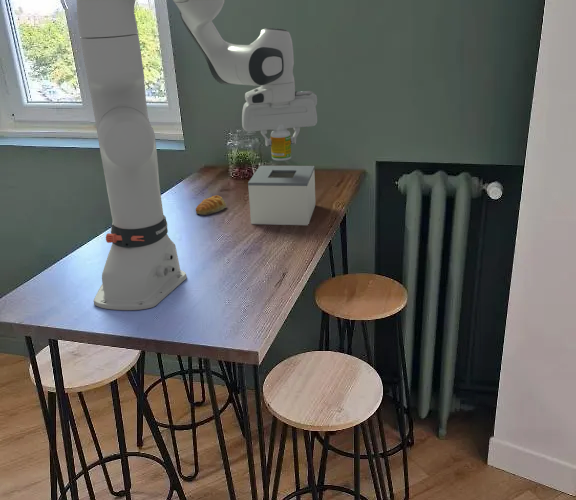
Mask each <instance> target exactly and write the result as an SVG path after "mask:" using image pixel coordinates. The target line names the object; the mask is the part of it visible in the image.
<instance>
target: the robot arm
mask: <svg viewBox="0 0 576 500" xmlns="http://www.w3.org/2000/svg"><path fill="white" fill-rule="evenodd" d="M172 1H173V3H174V4H175V6H177V8H178V10H179V16H180V19H181V21H182V23H183V25H184V27H185V28H186V29H185V30H187V31H188V34H189V35H190V37H191V39H193V41H194V42H195V45H196V46H197V48H198V49H199V50H200V52H201V53H202V55H203V57H204V58H205V60H206V63H207V66H208V69H209V71H210V73H211V75H212V77H213V79H215V81H216V82H218V83H219V84H222V85H226V86H227V85H241V86H242V85H243V86H254V87H256V86H257V87H256V88H253V89H251V90H249V91H246V92H245V93H244V99H245V101H246V102H244V103H243V107H242V111H241V112H242V113H241V125H242V126H241V127H242V129H243V130H244V131H245V132H247V133H248V132H257V131H258V132H260V134H261V135H262V137H263V138H264V140H265V147H271V146H272V144H271V142H272V141H271V137H269V138H268V137H267V136H266V135H267V134H268V131H273V130H274V129H277V128H278V127H279V125H283V126H284V128H287V129H292V128H293V131H294V133H292V136H291V135H290V137H291V145H296V144H297V138H298V136H299V134H300V131H301V128H304V127H306V128H307V127H314V126H316V125H317V123H318V113H317V108H316V107H317V105H318V96H317V94H316V93H315V92H313V91H312V90H306V91H302V90H301V91H296V86H295V85H296V83H295V82H296V80H295V76H294V72H293V71H294V70H293V69H294V66H295V65H294V64H295V59H294V45H293V40H292V36H291V34H290V32H289V31H288V30H286V29H283V28H276V27H275V28H274V27H267V28H266V27H265V28H262V29H261V30H260V33H259V36H258V37H257V38H256V39H255V40H254V41H253V42H251V43H250V44H235V43H231V42H229V41H226V40H224V39H223V38H222V36H221V34H220V32H219V31H218V29H217V27H216V25H215V24H214V22H213V20H214V19H215V18H216V17H217V16H218V15H219V14H220V12H221V11H222V9H223V6H224V5H225V0H172ZM135 5H136V0H76V13H77V15H76V17H77V26H78V33H79V38H80V45H81V51H82V55H83V62H84V67H85V72H86V78H87V82H88V83H87V84H88V88H89V89H88V90H89V95H90V99H91V104H92V109H93V115H94V120H95V126H96V127H95V128H96V134H97V140H98V146H99V151H100V157H101V162H102V168H103V174H104V180H105V184H106V191H107V195H108V196H107V198H108V203H109V208H110V214H111V219H112V222H111V228H110V233H107V234H106V235H105V242H106V243H108V244H110V243H111V247H110V250H109V252H108V255H107V258H106V260H105V264H104V267H103V269H102V272H101V273H102V274H101V282H102V284H101V285H100V287H99V289H98V291H97V293H96V295H95V296H94V298H93V305H94V306H97V307H98V308H102V309H106V310H107V309H108V310H115V311H138V310H145V309H151V308H154V307H155V306H157V305H158V304H159V303H161V301H162V300H164V299H165V298H166V297H168V295H169V294H171V293H172V292H173V291H174V290H175V289H176V288H177V287H178V286H180V285H181V284H182V283H183V282H184V281H185V280H186V279H187V278H188V276H187V275H188V274H187V273H186V272H185V271H184V270H182V269H181V265H180V262H179V256H178V252H177V248H176V244H175V243H174V241H172V240H171V238H170V237H169V235H168V233H169V230H168V221H167V217H166V216H165V215H164V210H163V201H162V195H161V187H160V177H159V173H160V172H159V163H158V162H159V160H158V151H157V150H158V149H157V141H156V133H155V131H154V129H153V127H152V125H151V123H150V119H149V115H148V105H147V97H146V85H145V73H144V65H143V60H142V59H143V58H142V52H141V51H142V50H141V44H140V43H141V42H140V38H139V31H138V24H137V19H136V14H135Z"/></svg>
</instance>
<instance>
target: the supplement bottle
mask: <svg viewBox="0 0 576 500" xmlns="http://www.w3.org/2000/svg"><path fill="white" fill-rule="evenodd" d="M270 138H271V141H272V142H271V144H272V146H270V149H271V150H270V151H271V152H270V153H271V159H272V160H273V161H277V162H279V161H282V162H283V161H289V160H290V159H292V144H291V131H289V130H288V128H284V126H283V125H279V127H278V128H277V129H273V130H271V132H270Z"/></svg>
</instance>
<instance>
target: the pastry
mask: <svg viewBox="0 0 576 500" xmlns="http://www.w3.org/2000/svg"><path fill="white" fill-rule="evenodd" d="M226 207H227V203H226V201H225V200H224V198H223V197H222V196H220V195H218V194H217V195H211V197H207V198H204V199H203V200H202V201H201V202H200V203H199V204H198V205H197V206H196V208H195V213H196V214H199V215H201V216H202V215H203V216H208V215H211V214H216V213H218V212H220V211H222V210H225V208H226Z"/></svg>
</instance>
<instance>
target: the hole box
mask: <svg viewBox="0 0 576 500" xmlns="http://www.w3.org/2000/svg"><path fill="white" fill-rule="evenodd" d="M315 177H316V176H315V165H259V167H258V168H257V170H256V171H255V172H254V173H253V175H252V177H251V178H250V179H249V180H248V182H247V186H248V200H249V201H248V202H249V211H250V212H249V215H250V224H251V225H271V226H272V225H275V226H277V225H278V226H279V225H281V226H286V225H287V226H309V225H308V224H310V222H311V218H312V216H313V214H314V211H315V207H316V181H315V179H316V178H315Z"/></svg>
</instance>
